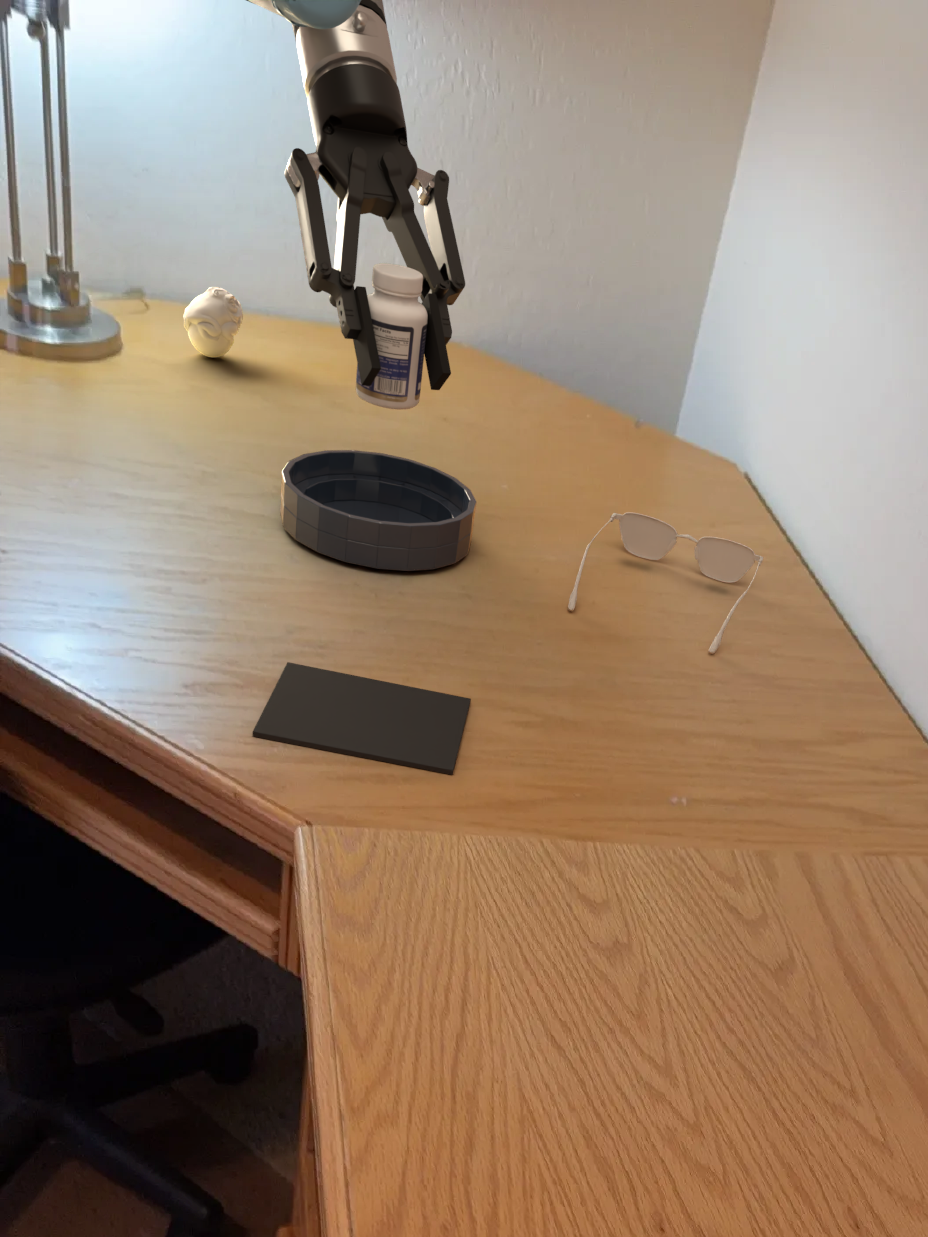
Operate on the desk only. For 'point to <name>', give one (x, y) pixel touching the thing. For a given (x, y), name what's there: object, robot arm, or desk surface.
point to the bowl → (377, 510)
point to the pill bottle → (396, 337)
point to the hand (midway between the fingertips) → (406, 379)
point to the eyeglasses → (660, 537)
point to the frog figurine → (213, 321)
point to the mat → (365, 718)
